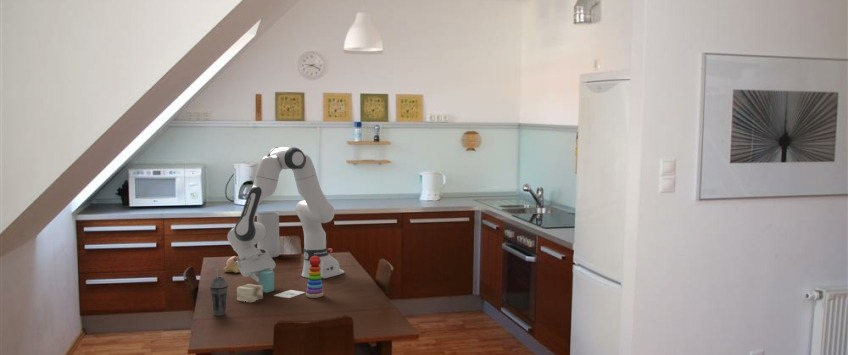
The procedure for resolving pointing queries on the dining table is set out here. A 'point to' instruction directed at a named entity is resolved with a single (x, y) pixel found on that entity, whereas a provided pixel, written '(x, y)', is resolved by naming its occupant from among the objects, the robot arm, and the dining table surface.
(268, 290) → the teal brick
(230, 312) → the dining table surface
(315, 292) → the stacking toy
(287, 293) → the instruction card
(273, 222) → the cylinder vase
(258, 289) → the base block
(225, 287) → the beverage cup
